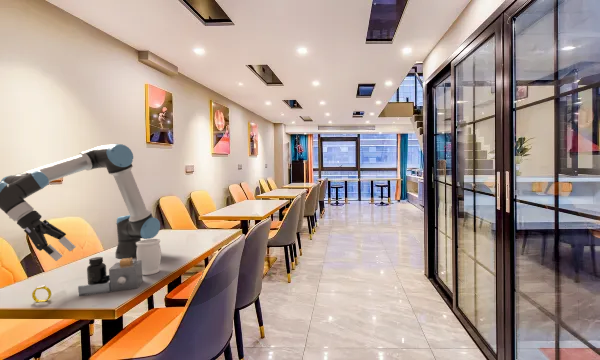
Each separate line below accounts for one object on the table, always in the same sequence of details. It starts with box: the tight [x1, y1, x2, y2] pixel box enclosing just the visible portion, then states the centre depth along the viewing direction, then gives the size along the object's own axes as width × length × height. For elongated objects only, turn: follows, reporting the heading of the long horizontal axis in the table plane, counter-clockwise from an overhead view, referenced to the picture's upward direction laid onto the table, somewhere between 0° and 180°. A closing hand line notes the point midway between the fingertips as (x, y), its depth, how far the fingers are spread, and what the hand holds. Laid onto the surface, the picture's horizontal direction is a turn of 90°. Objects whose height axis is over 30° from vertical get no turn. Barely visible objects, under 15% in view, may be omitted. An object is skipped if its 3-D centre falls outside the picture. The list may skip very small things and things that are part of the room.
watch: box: [31, 284, 52, 303], centre depth 127 cm, size 6×3×6 cm, turn 98°
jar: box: [136, 238, 162, 276], centre depth 157 cm, size 11×10×15 cm
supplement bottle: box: [86, 256, 108, 285], centre depth 138 cm, size 7×7×12 cm
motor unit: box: [77, 257, 144, 297], centre depth 138 cm, size 14×21×11 cm, turn 104°
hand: (66, 253), depth 137 cm, fingers open, 13 cm apart
